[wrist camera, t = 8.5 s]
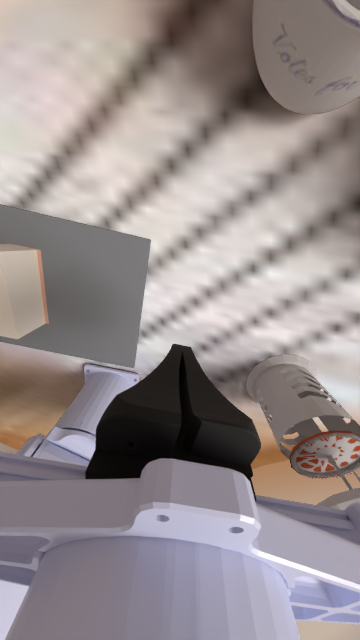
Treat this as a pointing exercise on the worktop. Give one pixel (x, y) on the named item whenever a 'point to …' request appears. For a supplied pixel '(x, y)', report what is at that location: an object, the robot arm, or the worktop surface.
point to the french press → (307, 422)
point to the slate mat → (82, 285)
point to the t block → (19, 291)
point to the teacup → (308, 52)
